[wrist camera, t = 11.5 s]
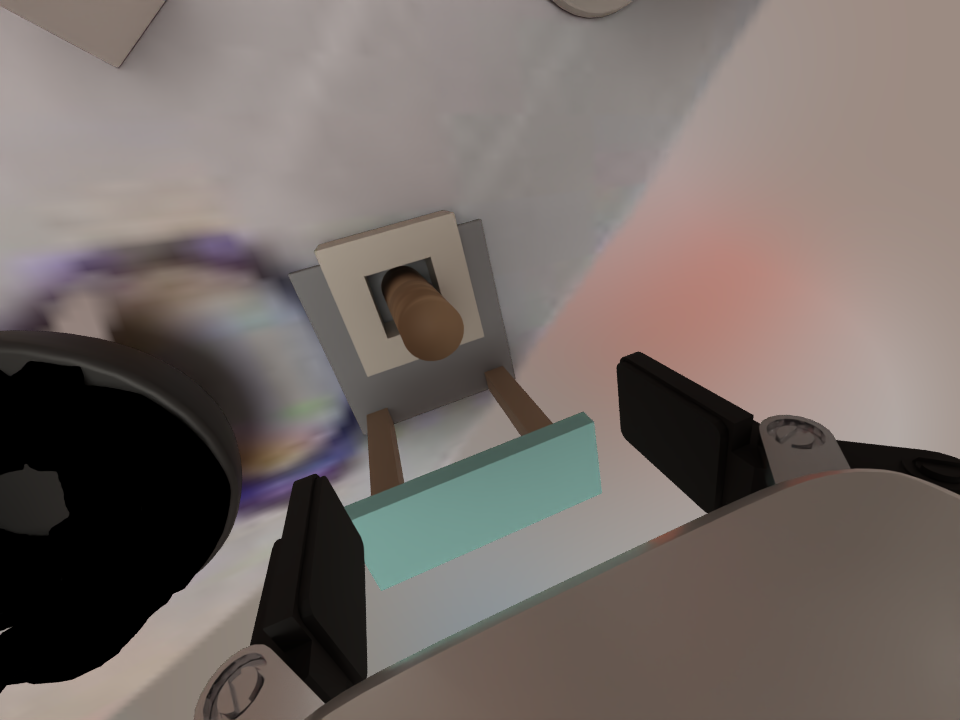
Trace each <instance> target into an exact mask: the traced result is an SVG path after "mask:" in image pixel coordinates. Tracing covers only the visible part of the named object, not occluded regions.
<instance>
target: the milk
mask: <svg viewBox="0 0 960 720" xmlns="http://www.w3.org/2000/svg"><path fill="white" fill-rule="evenodd" d="M165 1H166V0H0V6H2V7H3V8H5V9H7V10H9V11H11V12H13V13H15V14H17V15H18V16H20V17H22V18H24V19H26V20H28V21H30V22H32V23H33V24H35V25H37V26H39V27H41V28H43V29H45V30H47V31H49V32H50V33H52V34H54V35H56V36H58V37H60V38H62V39H64V40H65V41H67V42H69V43H71V44H73V45H75V46H77V47H79V48H80V49H82V50H84V51H86V52H88V53H90V54H92V55H94V56H96V57H97V58H99V59H101V60H103V61H105V62H107V63H109V64H111V65H112V66H114V67H117V68H118V67H119V66H120V65H121V64H122V62H123V61H124V59H125V58H126V57H127V55H128V54H129V52H130V51H131V49H132V48H133V47H134V45H135V44H136V42H137V41H138V39H139V38H140V37H141V35H142V34H143V32H144V31H145V29H146V28H147V26H148V25H149V24H150V22H151V21H152V19H153V18H154V16H155V15H156V14H157V12H158V11H159V9H160V8H161V6H162V5H163V4H164V2H165Z"/></svg>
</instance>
